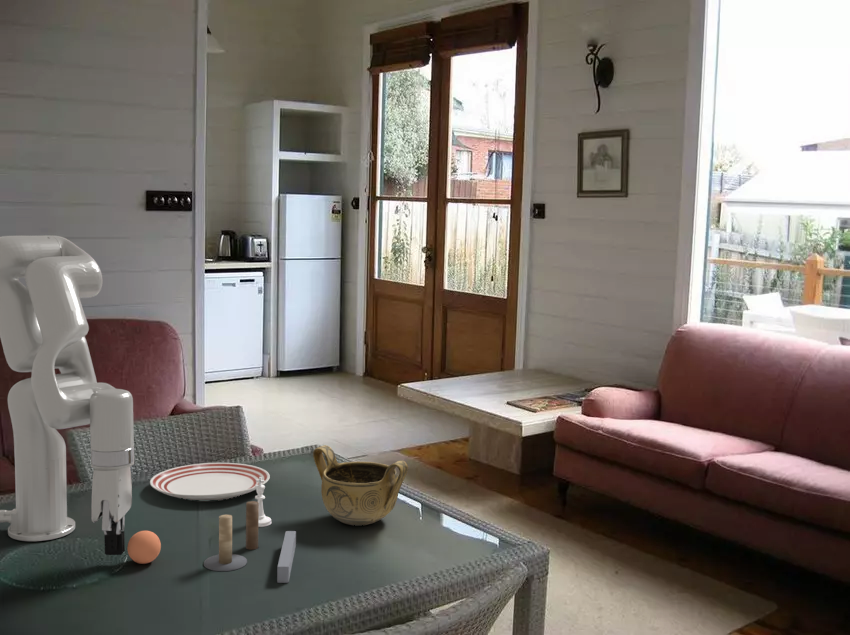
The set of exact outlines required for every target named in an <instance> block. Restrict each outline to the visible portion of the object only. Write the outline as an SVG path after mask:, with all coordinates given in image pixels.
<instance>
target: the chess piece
mask: <svg viewBox="0 0 850 635" xmlns="http://www.w3.org/2000/svg"><path fill="white" fill-rule="evenodd" d="M256 482H259V485H256V486H255V488H256V490H255V491H256V494H257V495H255V496H254V499H255V500H257V502H258V503H259V518H258V528H263V527H267V526H268V527H269V526H270V525H271V524H272V519H271V517H269V516H266V514H265V512H264V504H263V500H265V499H266V496H265V495H264V492H265V488H266V486H265V484H264V485H262V483H264V480H262V477H259V480H256Z"/></svg>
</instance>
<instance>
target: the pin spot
mask: <svg viewBox="0 0 850 635" xmlns="http://www.w3.org/2000/svg"><path fill="white" fill-rule="evenodd" d="M247 564H248V559H247V558H246V557H245V556H243V555H240V554H236V553H235V554H234V553H232V562H231V563H230V564H220V563H219V554H216V555H215V554H214V555H212V556H209V557H207V558H206V559H205V560H204V561H203V567H204V568H206V569H208V570H210V571H213V572H230V571H231V572H232V571H237V570H239V569H242V568H244V567H245V566H247Z"/></svg>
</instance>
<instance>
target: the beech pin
mask: <svg viewBox="0 0 850 635" xmlns="http://www.w3.org/2000/svg"><path fill="white" fill-rule="evenodd" d="M232 554H233V515H232V514H221V515H219V516H218V555H219V563H220V564H230V563H231V562H232Z"/></svg>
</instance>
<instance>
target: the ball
mask: <svg viewBox="0 0 850 635" xmlns="http://www.w3.org/2000/svg"><path fill="white" fill-rule="evenodd" d="M161 548H162V544H161V540H160V538H159V536H158V535H157V534H156V533H155V532H153V531H151V530H140V531H138V532H136V533H134V534H133V535H132V536H131V537H130V538H129V540H128V542H127V548H126V549H127V554H128V556H129V558H130V559H131V560H132V561H133V562H135V563H137V564H140V565H141V564H142V565H145V564H149V563H151V562H154V560H156V559H157V558H158V556H159V554H160V552H161Z"/></svg>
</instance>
